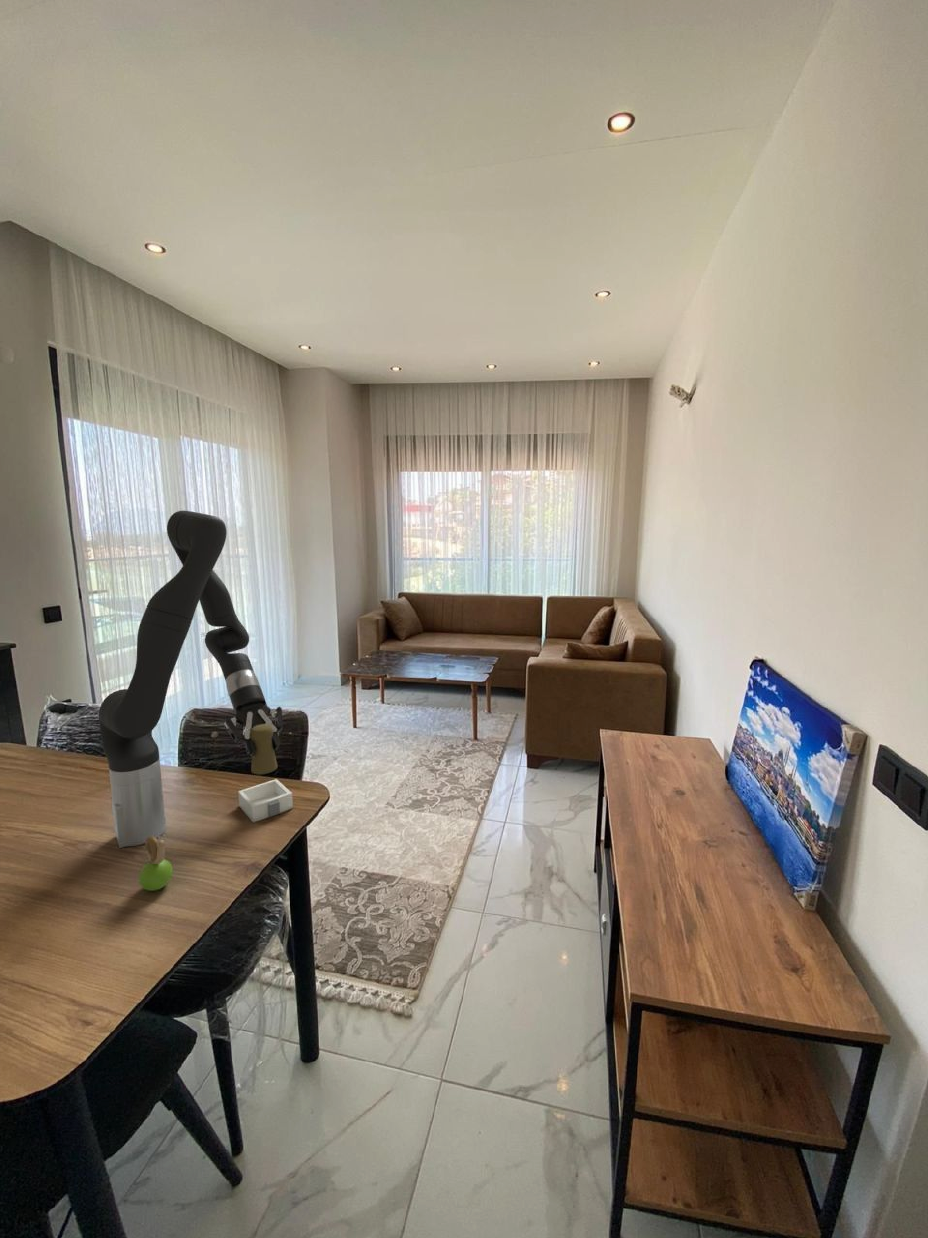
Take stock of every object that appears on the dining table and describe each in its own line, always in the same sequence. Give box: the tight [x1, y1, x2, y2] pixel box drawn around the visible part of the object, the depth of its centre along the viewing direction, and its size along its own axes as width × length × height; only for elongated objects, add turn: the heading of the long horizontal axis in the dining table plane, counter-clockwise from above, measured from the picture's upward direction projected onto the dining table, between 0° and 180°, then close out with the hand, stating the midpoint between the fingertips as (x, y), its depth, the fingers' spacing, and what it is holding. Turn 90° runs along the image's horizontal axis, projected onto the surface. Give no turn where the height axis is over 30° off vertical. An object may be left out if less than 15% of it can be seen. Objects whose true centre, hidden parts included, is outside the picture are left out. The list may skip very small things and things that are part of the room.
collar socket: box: [237, 778, 294, 823], centre depth 121 cm, size 10×11×4 cm
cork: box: [250, 724, 278, 775], centre depth 119 cm, size 6×6×11 cm
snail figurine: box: [138, 834, 174, 892], centre depth 92 cm, size 5×6×12 cm
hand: (265, 751), depth 118 cm, fingers closed on cork, 5 cm apart
